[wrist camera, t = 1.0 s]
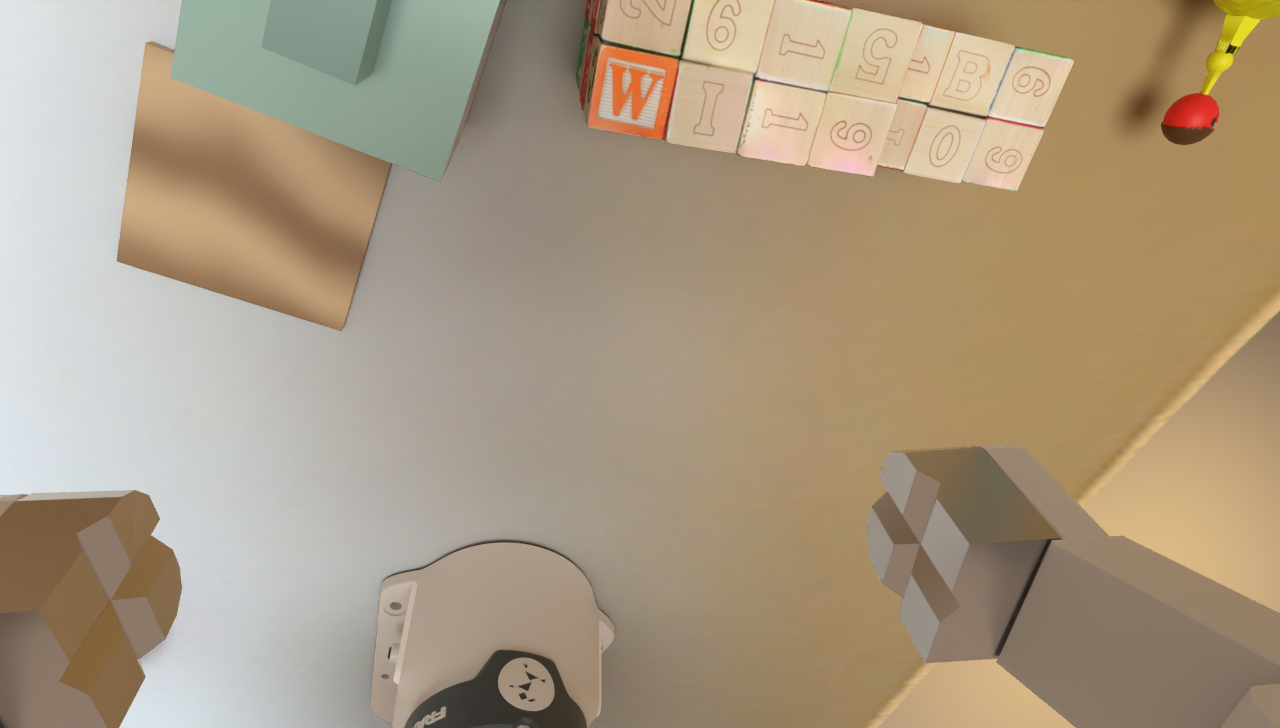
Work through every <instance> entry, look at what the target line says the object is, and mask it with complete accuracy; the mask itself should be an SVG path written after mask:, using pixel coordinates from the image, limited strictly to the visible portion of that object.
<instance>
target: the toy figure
mask: <svg viewBox="0 0 1280 728" xmlns="http://www.w3.org/2000/svg"><path fill="white" fill-rule="evenodd" d="M1213 2H1214V3H1215V5H1216V6H1217V7H1218V8H1219V9H1220V10H1222V11H1224V12H1225V13H1227V14H1226V17H1225V21H1224V25H1223V29H1222V33H1221V37H1220V39H1219V41H1218V43H1217V46H1216V49H1215V52H1213V53H1212V54H1210V55H1209V57H1208V58H1207V60H1206V67H1207V69H1208V70H1209V71H1208V74H1207V77H1206V79H1205V82H1204V84H1203V87H1202V89H1201V92H1200V93H1195V94H1190V95H1187V96H1184V97H1182V98H1180V99H1179V100H1177V101H1176V102H1175V103H1174V104H1173V105H1172V106H1171V107H1170V108H1169V109H1168V111H1167V112H1166V114H1165V116H1164V120H1163V122H1162V123H1161V129H1162V132H1163V134H1164V136H1165V137H1166V138H1167V139H1168V140H1169V141H1171V142H1173V143H1175V144H1180V145H1188V144H1193V143H1196V142H1199V141H1201V140H1203V139H1204V138H1206V137H1207V136H1208V135H1210V134H1211V133H1212V132H1213V131H1214V129H1213V128H1212V127H1213V125H1214V123H1215V122H1217V121H1218V117H1219V107H1218V105H1217V102H1216V101H1215V100H1214V99H1213V98H1212V97H1211V96H1209V95H1208V93H1209V92H1210V90H1211V88H1212V87H1213V85H1214V84H1215V82H1216V80H1217V79H1218V77H1219V76H1220V74H1221V73H1222V72H1223V71H1225V70H1226V69H1228V68H1229V67H1230V66H1231V64H1232V63H1233V56H1234V55H1235V53H1236V52H1237V50H1238V49H1239V48H1240V46H1241V44H1242V42H1243V40H1244V39H1245V38H1246V37H1247V36H1248V34H1249V33H1250V32H1251V31H1252V30H1253V28H1254V27H1255V26H1256V25H1257V24H1258V23H1259V21H1260V20H1261V19H1269V18H1273V17H1277V16H1280V0H1213Z"/></svg>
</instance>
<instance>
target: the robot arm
mask: <svg viewBox="0 0 1280 728" xmlns="http://www.w3.org/2000/svg"><path fill="white" fill-rule="evenodd" d="M879 478H880V480H881V481H882V483H883V485H884V486H885V488H886V489H887V492H886V493H885V494H884V495H883V496H882V497H881V498H880V499H879V500H878V501H877V502H876V503H875V504H874V505H872V507H871V512H870V516H869V521H868V525H867V536H868V550H869V553H870V556H871V560H872V563H873V566H874V568H875V570H876V572H877V574H878V576H879V578H880V580H881V582H882V584H883V585H885V586H886V587H888V588H889V589H891V590H892V591H894V592H895V593H897V594H898V595H899V596H901V597H902V598H903V600H902V603H901V607H900V611H899V616H900V618H901V620H902V621H903V623H904V625H905V627H906V629H907V631H908V633H909V634H910V636H911V638H912V640H913V642H914V644H915V645H916V647H917V649H918V651H919V653H920V655H921V656H922V658H923V660H924V662H925V663H935V662H951V661H967V660H981V659H998V660H997V663H998V664H999V665H1000V666H1002V667H1003V668H1004V669H1005V670H1006V671H1008V672H1009V673H1010V674H1011V675H1012V676H1014V677H1015V678H1016V679H1017V680H1019V681H1020V682H1021V683H1022V684H1023V685H1025V686H1026V687H1027V688H1028V689H1030V690H1031V691H1032V692H1033V693H1034V694H1036V695H1037V696H1038V697H1039V698H1041V699H1042V700H1043V701H1044V702H1045V703H1047V704H1048V705H1049V706H1050V707H1051V708H1053V709H1054V710H1055V711H1056V712H1058V713H1059V714H1060V715H1061V716H1063V717H1064V718H1065V719H1066V720H1067V721H1069V722H1070V723H1071V724H1072V725H1073V726H1075V727H1076V728H1280V613H1278V612H1276V611H1274V610H1272V609H1270V608H1268V607H1266V606H1264V605H1262V604H1260V603H1258V602H1256V601H1254V600H1252V599H1250V598H1248V597H1245V596H1244V595H1242V594H1239V593H1237V592H1235V591H1233V590H1231V589H1229V588H1227V587H1225V586H1223V585H1221V584H1219V583H1217V582H1215V581H1213V580H1211V579H1209V578H1207V577H1205V576H1203V575H1201V574H1199V573H1197V572H1195V571H1193V570H1191V569H1189V568H1187V567H1185V566H1183V565H1180V564H1179V563H1177V562H1175V561H1172V560H1171V559H1168V558H1167V557H1164V556H1162V555H1160V554H1158V553H1156V552H1154V551H1152V550H1150V549H1148V548H1146V547H1144V546H1142V545H1140V544H1138V543H1136V542H1134V541H1132V540H1130V539H1128V538H1126V537H1124V536H1110V537H1109V536H1108V534H1107V533H1106V532H1105V531H1104V530H1103V529H1102V528H1101V527H1100V526H1099V525H1098V524H1097V523H1096V522H1095V521H1094V520H1093V519H1092V518H1091V517H1090V516H1089V515H1088V513H1087V512H1085V511H1084V509H1083V508H1082V507H1081V506H1080V505H1079V504H1078V503H1077V502H1076V501H1075V500H1074V499H1073V498H1072V497H1071V496H1070V495H1069V494H1068V493H1067V492H1066V490H1065V489H1064V488H1063V487H1062V486H1061V485H1060V484H1059V483H1058V482H1057V481H1056V480H1055V479H1054V478H1053V477H1052V476H1051V475H1050V474H1049V473H1048V472H1047V471H1046V470H1045V469H1044V467H1043V466H1042V465H1041V464H1040V463H1039V462H1038V461H1037V460H1036V459H1035V458H1034V457H1033V456H1032V455H1031V454H1030V453H1029V452H1028V451H1027V450H1026V449H1025V448H1024V447H1022V446H1020V445H1017V444H1015V443H1013V442H1008V443H995V444H982V445H972V446H970V447H952V448H935V449H917V450H900V451H891V452H890V454H889V455H888V456H887V458H886V459H885V461H884V463H883V467H882V470H881V474H880V477H879ZM159 520H160V518H159V516H158V514H157V511H156V509H155V507H154V505H153V503H152V501H151V499H150V497H149V495H147V494H144V493H141V492H139V491H136V490H125V491H93V492H62V493H33V494H30V495H23V494H20V495H0V728H119V726H120V725H121V723H122V721H123V719H124V717H125V715H126V713H127V711H128V709H129V707H130V705H131V704H132V702H133V700H134V698H135V696H136V694H137V692H138V690H139V688H140V686H141V684H142V683H143V681H144V679H145V674H144V671H143V669H142V666H141V663H140V660H139V659H140V658H141V657H142V656H144V655H145V654H146V653H148V652H149V651H150V650H151V649H153V648H154V647H155V646H157V645H158V644H159V643H160V642H162V641H163V640H164V639H165V638H166V636H167V634H168V632H169V630H170V628H171V626H172V624H173V622H174V620H175V618H176V616H177V611H178V605H179V600H180V595H181V589H182V585H181V576H180V567H179V564H178V562H177V559H176V557H175V554H174V552H173V550H172V549H171V548H169V547H168V546H166V545H165V544H163V543H162V542H160V541H159V540H157V539H156V538H154V537H153V536H151V534H152V532H153V530H154V529H155V527H156V525H157V523H158V522H159ZM396 602H398V603H396ZM613 640H614V625H613V623H612V622H611V620H610V619H609V618H608V617H607V616H606V615H605V614H604V613H603V612H602V611H601V610H600V609H599V608H598V606H597V604H596V602H595V598H594V594H593V591H592V588H591V586H590V584H589V582H588V580H587V578H586V577H585V576H584V574H583V573H582V572H581V571H580V570H579V569H578V568H577V567H576V566H575V565H574V564H573V563H571V562H570V561H569V560H567V559H566V558H564V557H562V556H560V555H558V554H556V553H554V552H552V551H549V550H547V549H544V548H541V547H537V546H533V545H528V544H521V543H489V544H482V545H477V546H472V547H468V548H465V549H462V550H459V551H457V552H454V553H452V554H450V555H448V556H446V557H444V558H442V559H440V560H439V561H437V562H435V563H434V564H432V565H430V566H428V567H426V568H423V569H421V570H416V571H411V572H405V573H401V574H397V575H394V576H391V577H389V578H387V579H385V580H384V581H383V583H382V585H381V592H380V602H379V613H378V624H377V635H376V646H375V657H374V669H373V680H372V691H371V702H370V709H371V711H372V713H374V714H375V715H376V716H378V717H379V718H381V719H383V720H384V721H386V722H388V723H391V724H392V728H588V727H589V726H590V725H591V723H592V722H593V721H594V719H595V717H598V716H599V714H600V712H601V705H602V676H601V654H602V653H603V652H604V651H605V650H606V649H607V648H608V647H609V646H610V645H611V643H612V642H613Z"/></svg>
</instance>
